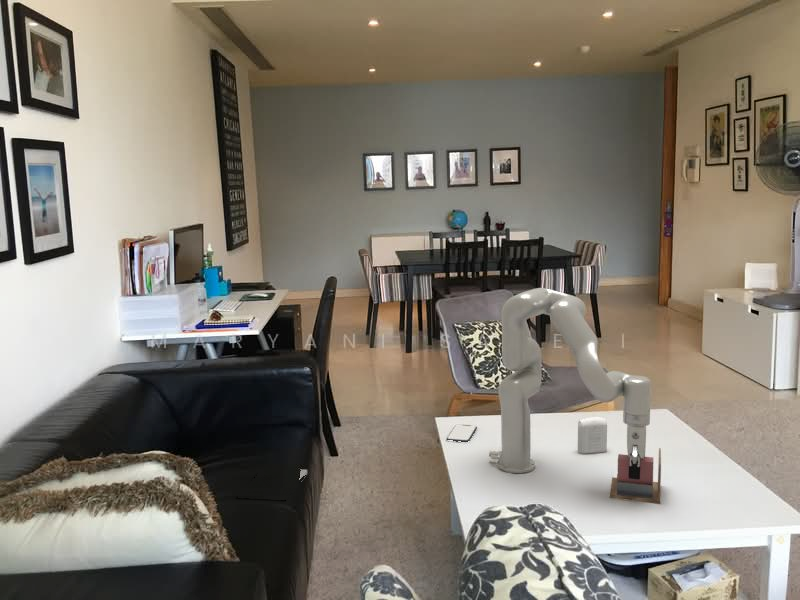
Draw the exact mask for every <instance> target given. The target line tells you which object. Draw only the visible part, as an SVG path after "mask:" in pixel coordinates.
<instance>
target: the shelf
mask: <svg viewBox="0 0 800 600" xmlns="http://www.w3.org/2000/svg"><path fill="white" fill-rule="evenodd" d="M661 452H662V450H661V448H660V447H659V448H658V470H657V471H658V472H657V474H658V475H657V481H653V499H646V498H637V497H628V496H620V495H617V477H618V473H617V474H616V477H614V476H613V477H611V484H610V489H609V490H610V491H609V498H611V499H616V498H618V499H617V500H625V499H626V500H627V501H633V500H634V502H635V501H636V502H642V503H651V504H659V503H660V504H661V481H662V480H661V479H662V477H661V475H662V454H661Z"/></svg>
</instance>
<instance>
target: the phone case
mask: <svg viewBox="0 0 800 600" xmlns="http://www.w3.org/2000/svg"><path fill="white" fill-rule="evenodd" d="M476 429H477V430H478V427H477V425H473V424H472V425H470V424H456V425H454V427H453V428H452V430H451V431H450V432H449V434H448V435H447V437H446V441H447V440H453V441H461V442H468V441H471V440H472V439H473V437H474V435H475V434H474V433H476V432H477V430H476ZM475 431H476V432H475ZM473 434H474V435H473ZM472 436H473V437H472ZM471 438H472V439H471ZM470 439H471V440H470ZM461 442H460V443H461Z"/></svg>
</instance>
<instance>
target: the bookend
mask: <svg viewBox="0 0 800 600" xmlns="http://www.w3.org/2000/svg"><path fill="white" fill-rule="evenodd" d="M617 495H620V496H628V497H637V498H646V499H653V485H648V484H639V483H629V482H620V481H617Z"/></svg>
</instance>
